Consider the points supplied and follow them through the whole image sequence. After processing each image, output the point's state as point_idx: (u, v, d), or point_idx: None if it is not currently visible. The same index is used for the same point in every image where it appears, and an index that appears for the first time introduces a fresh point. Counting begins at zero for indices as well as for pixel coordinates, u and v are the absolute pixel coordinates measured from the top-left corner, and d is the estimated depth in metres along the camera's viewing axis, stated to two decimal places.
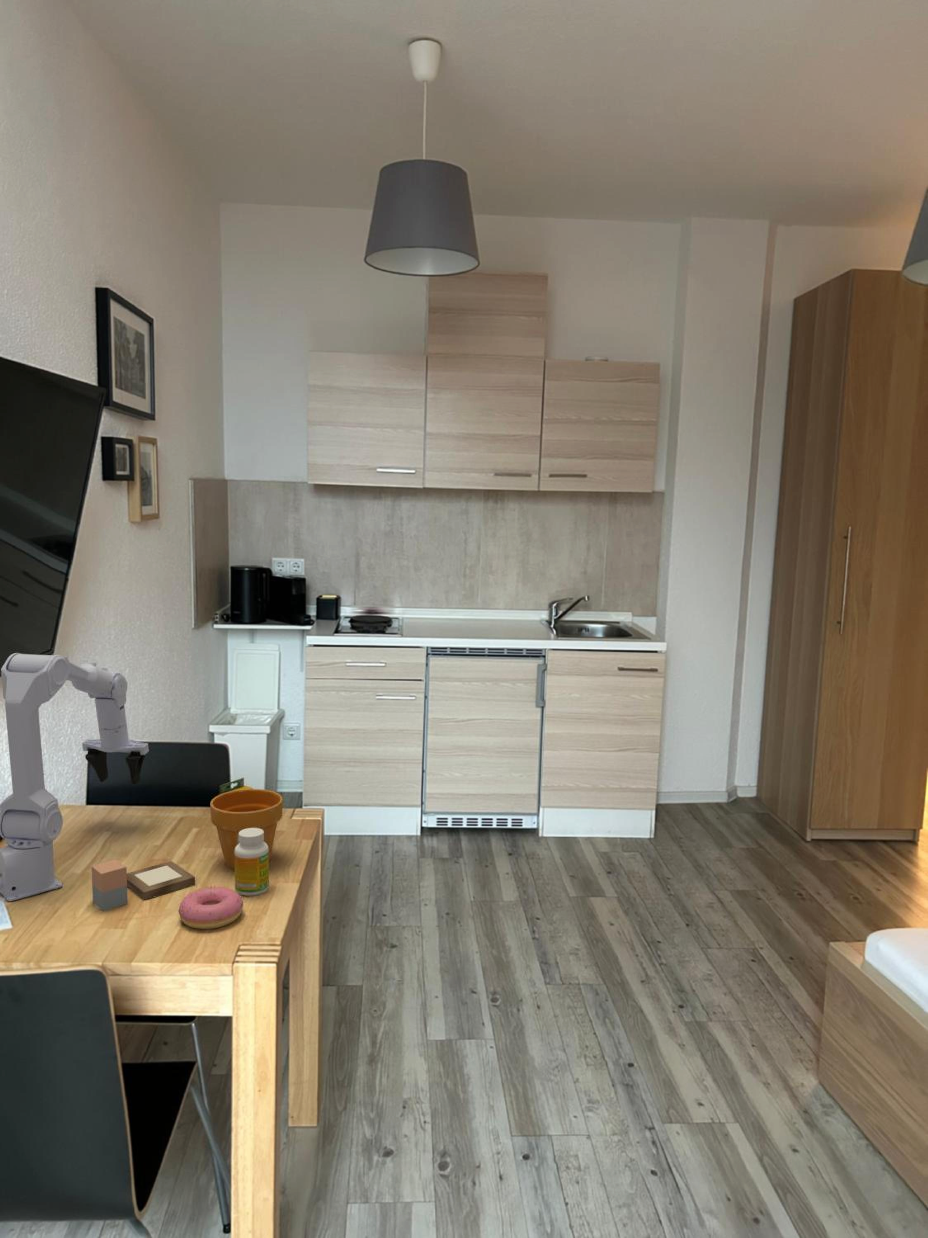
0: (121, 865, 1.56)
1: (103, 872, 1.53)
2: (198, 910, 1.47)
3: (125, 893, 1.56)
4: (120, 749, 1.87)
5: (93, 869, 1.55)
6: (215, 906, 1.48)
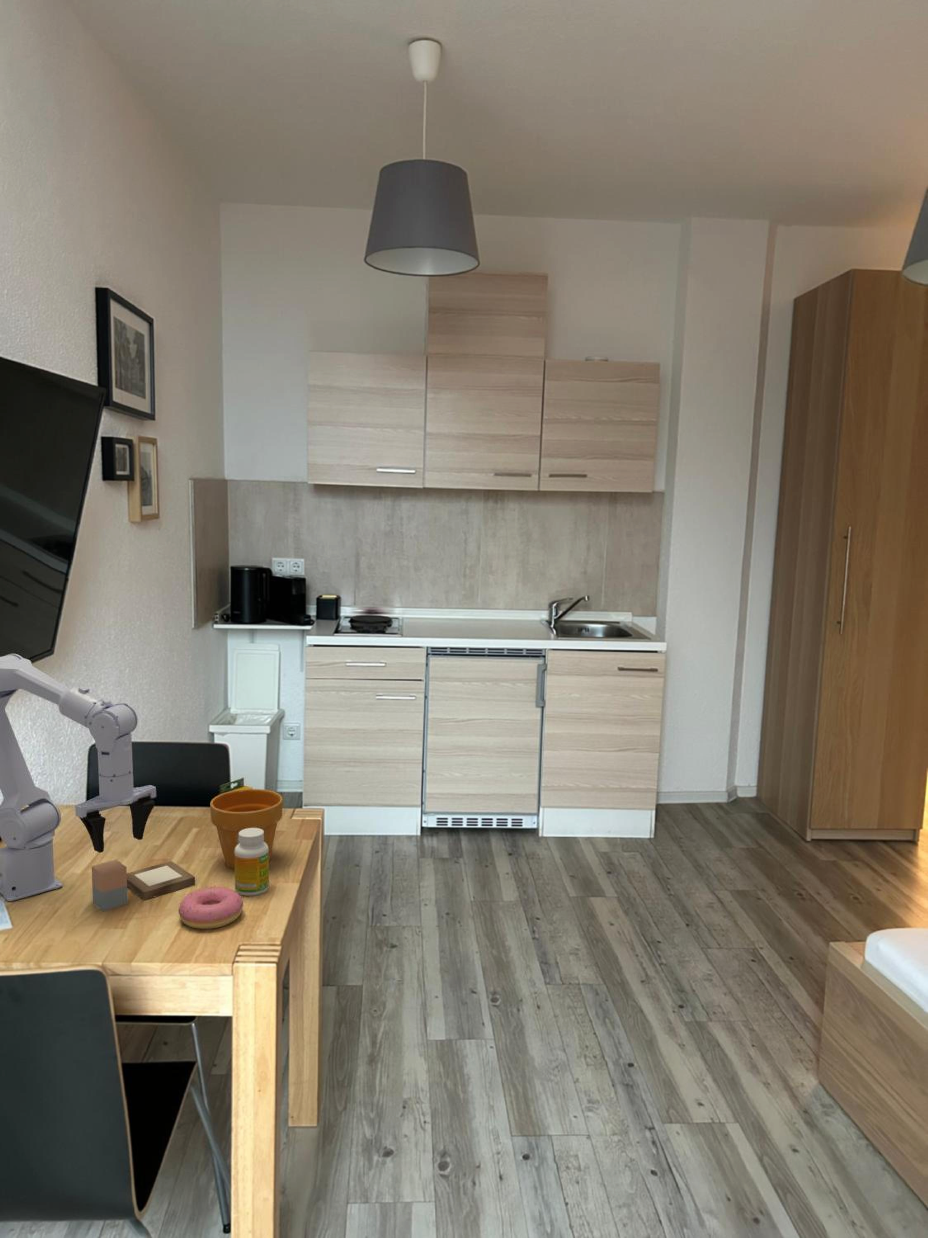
0: (121, 865, 1.56)
1: (103, 872, 1.53)
2: (198, 910, 1.47)
3: (125, 893, 1.56)
4: None
5: (93, 869, 1.55)
6: (215, 906, 1.48)
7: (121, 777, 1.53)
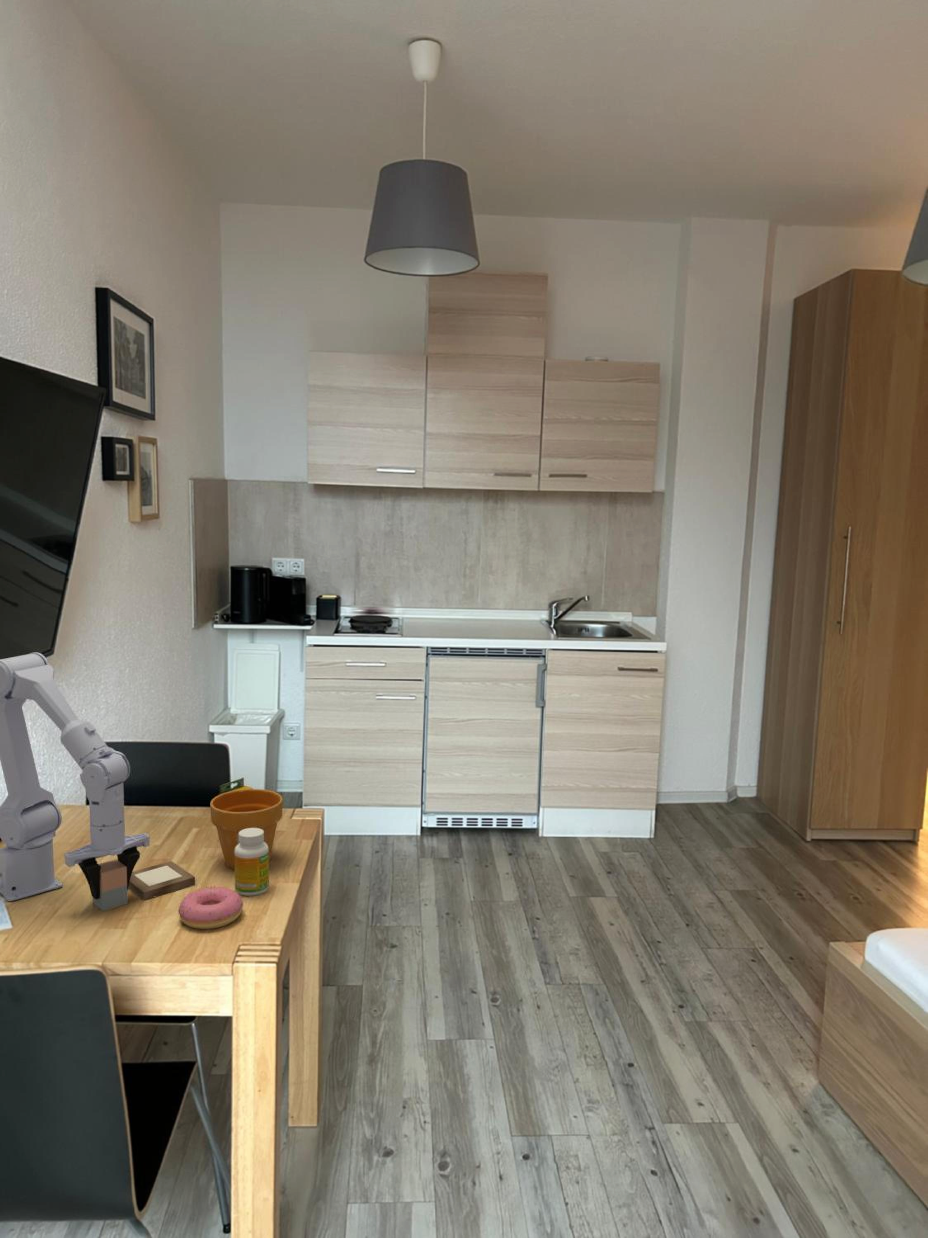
0: (121, 865, 1.56)
1: (103, 872, 1.53)
2: (198, 910, 1.47)
3: (125, 893, 1.56)
4: None
5: None
6: (215, 906, 1.48)
7: (110, 827, 1.52)
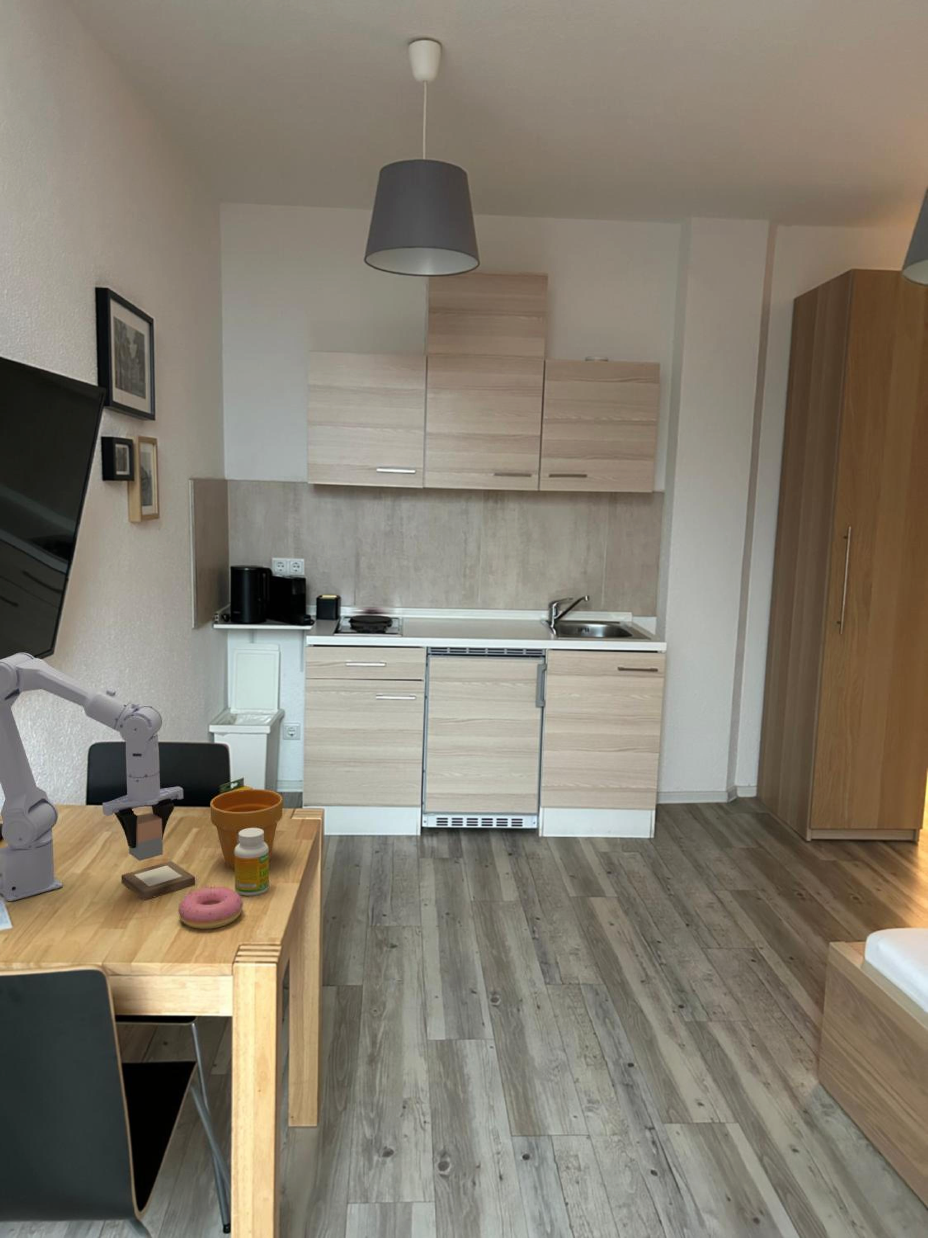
0: (156, 817, 1.61)
1: (140, 823, 1.58)
2: (198, 910, 1.47)
3: (160, 844, 1.61)
4: None
5: None
6: (214, 906, 1.48)
7: (146, 778, 1.57)
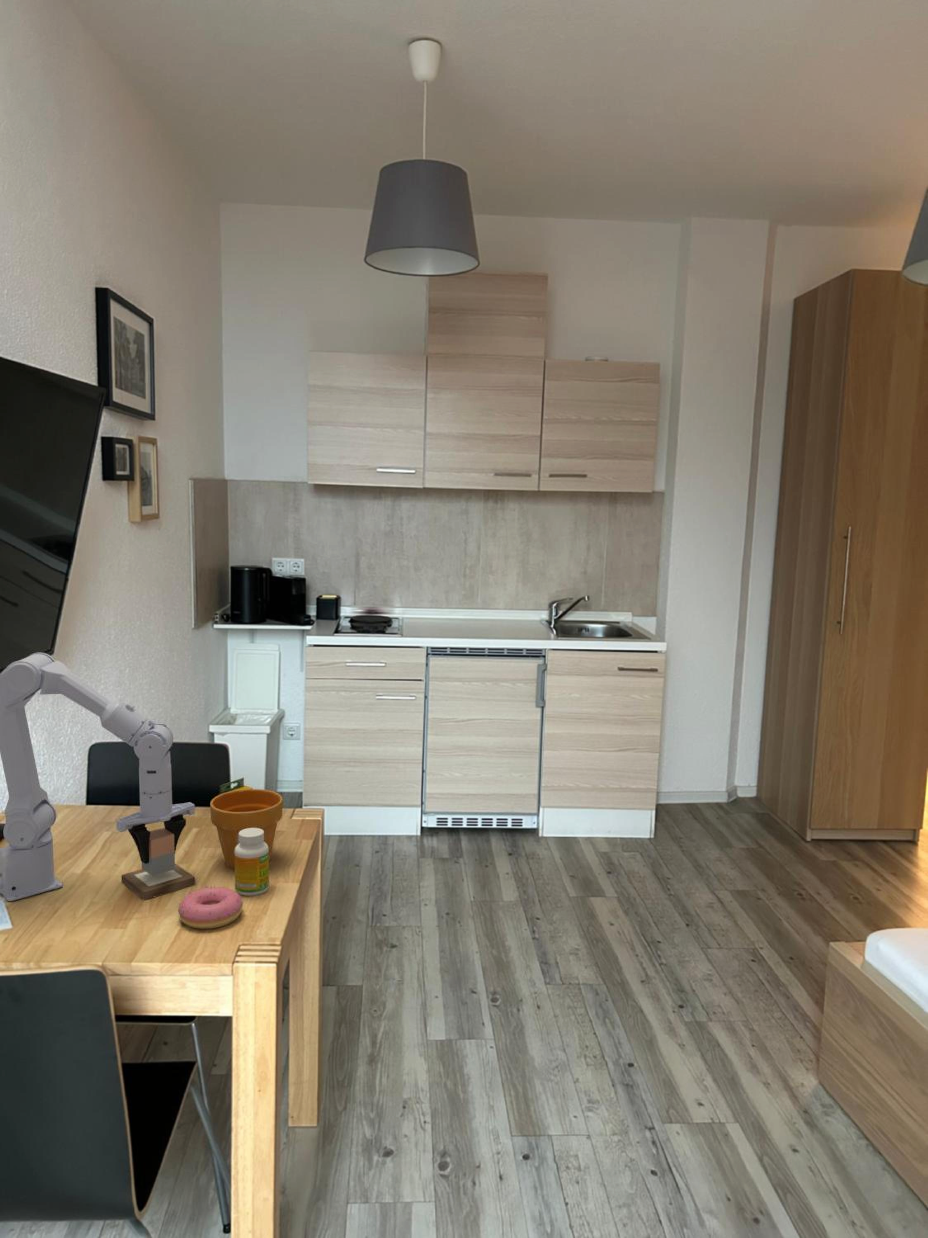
0: (169, 833, 1.64)
1: (153, 839, 1.61)
2: (198, 910, 1.47)
3: (173, 859, 1.64)
4: None
5: None
6: (214, 906, 1.48)
7: (159, 795, 1.60)
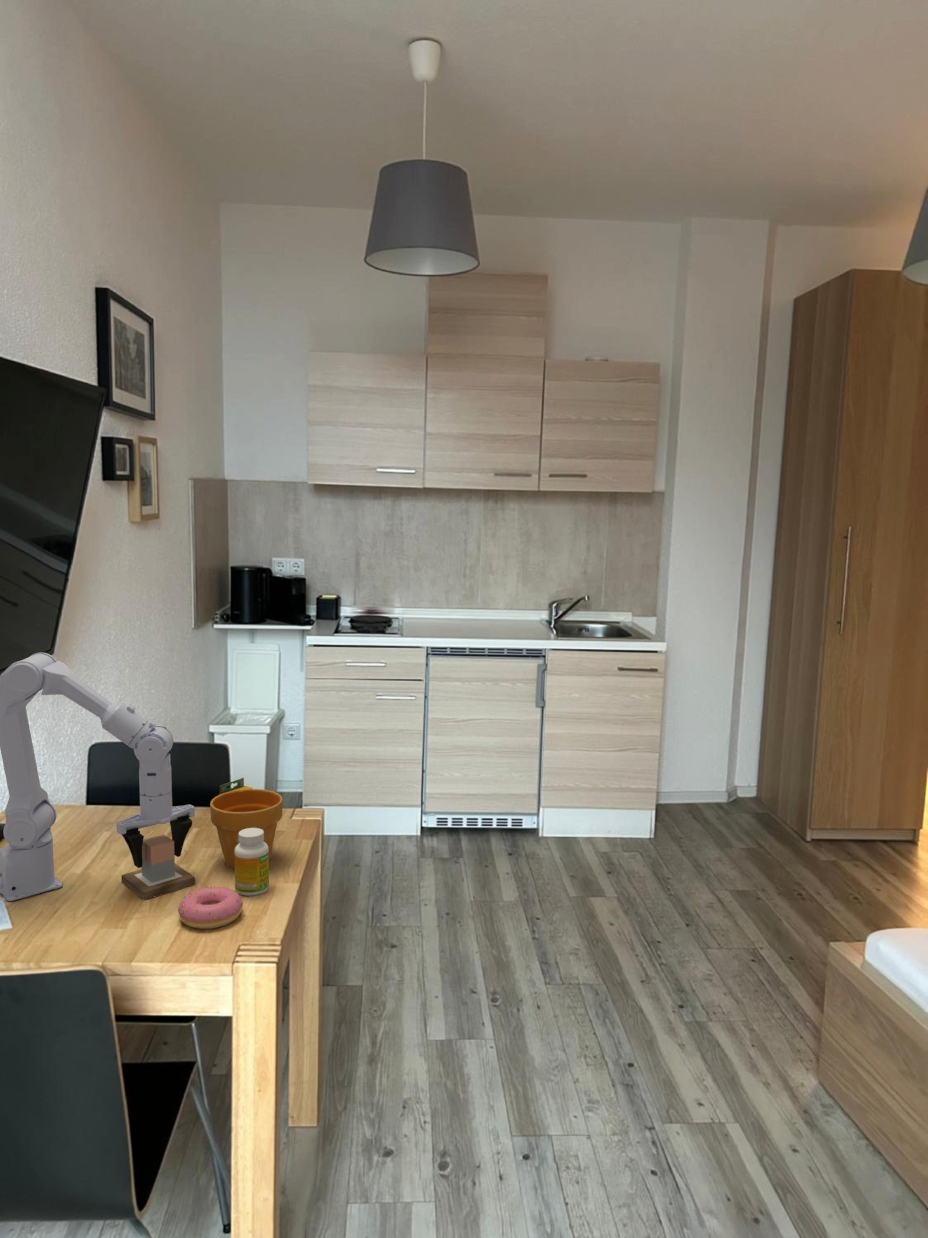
0: (169, 839, 1.64)
1: (152, 845, 1.61)
2: (197, 910, 1.47)
3: (173, 866, 1.64)
4: None
5: None
6: (214, 906, 1.48)
7: (159, 797, 1.60)
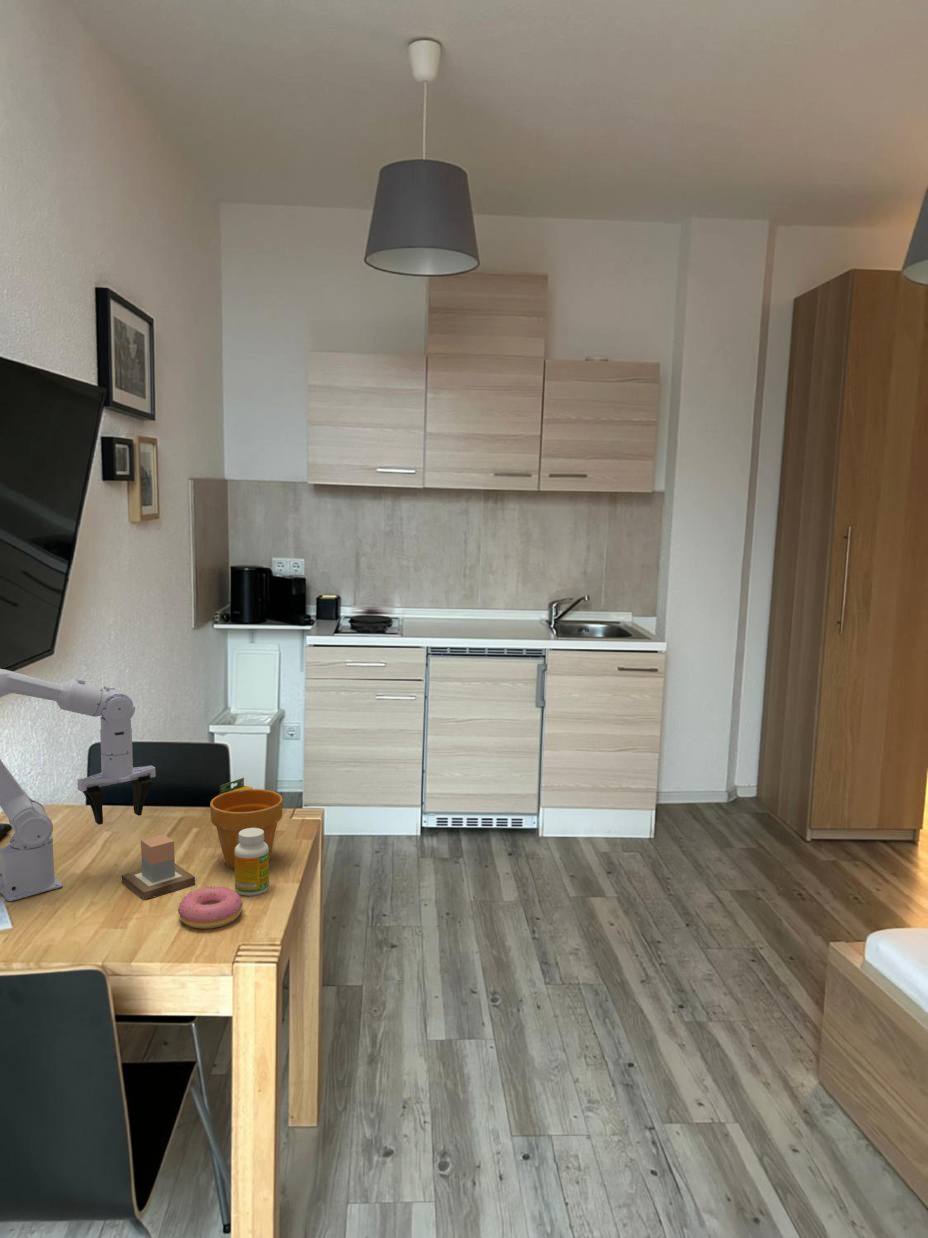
0: (169, 839, 1.64)
1: (152, 845, 1.61)
2: (197, 910, 1.47)
3: (173, 866, 1.64)
4: None
5: (142, 843, 1.63)
6: (214, 906, 1.48)
7: (119, 756, 1.66)
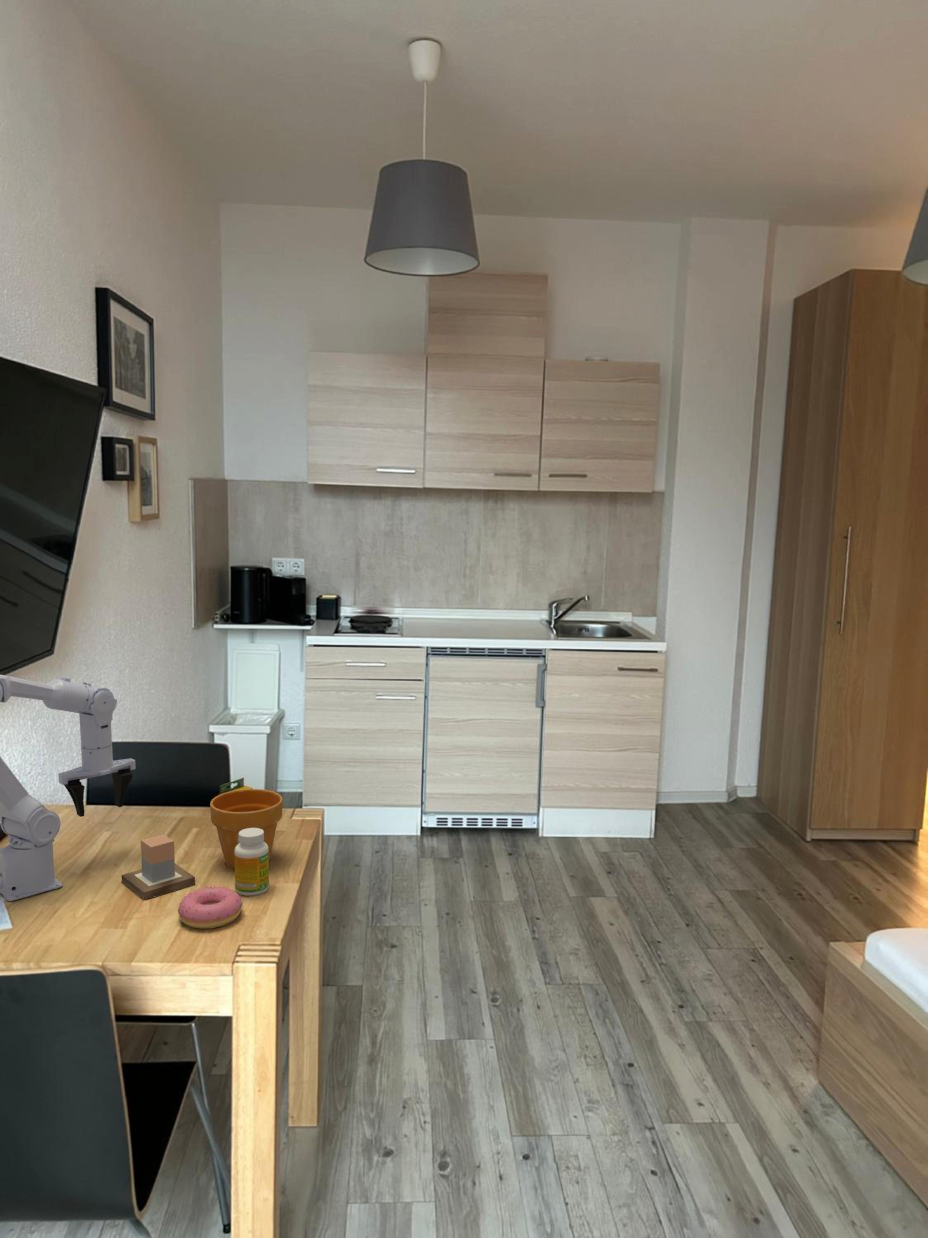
0: (169, 839, 1.64)
1: (152, 845, 1.61)
2: (197, 910, 1.47)
3: (173, 866, 1.64)
4: None
5: (142, 843, 1.63)
6: (214, 906, 1.48)
7: (99, 750, 1.70)
